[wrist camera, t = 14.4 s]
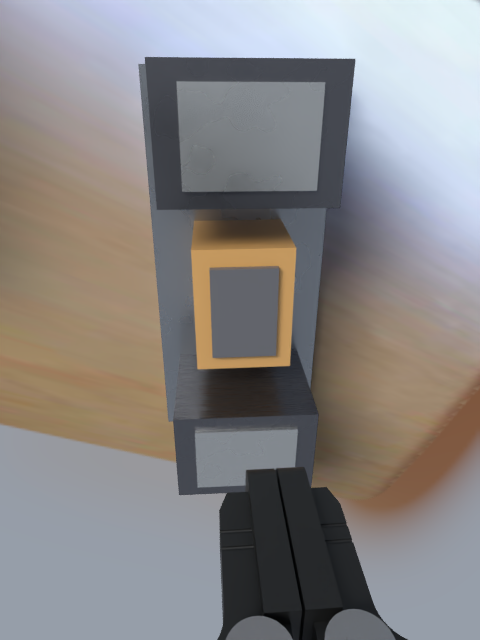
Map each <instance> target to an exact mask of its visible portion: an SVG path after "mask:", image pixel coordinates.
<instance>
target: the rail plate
mask: <svg viewBox="0 0 480 640" xmlns="http://www.w3.org/2000/svg"><path fill="white" fill-rule="evenodd" d="M354 67H355V59H303V58H180V57H145V64H139V76H140V88H141V99H142V111H143V123H144V135H145V147H146V159H147V171H148V182H149V194H150V206H151V218H152V230H153V242H154V254H155V265H156V277H157V289H158V301H159V313H160V325H161V337H162V349H163V360H164V372H165V384H166V396H167V408H168V420H169V421H173V423H174V436H175V449H176V462H177V474H178V486H179V495H193V494H212V493H231V492H245V481H246V470H253V469H273V468H274V469H276V468H290V467H304V468H305V470H306V473H307V476H308V480H309V484H310V487H311V483H312V474H313V464H314V454H315V445H316V435H317V425H318V416H319V414H318V411H317V408H316V405H315V402H314V399H313V396H312V393H311V390H310V386H311V375H312V364H313V353H314V342H315V331H316V319H317V308H318V297H319V286H320V275H321V264H322V253H323V242H324V231H325V219H326V208H340V203H341V193H342V183H343V174H344V164H345V154H346V145H347V135H348V125H349V116H350V106H351V96H352V87H353V77H354ZM268 219H281V220H282V222H283V224H284V226H285V228H286V230H287V231H288V233H289V235H290V237H291V239H292V241H293V243H294V244H295V246H296V264H295V282H294V300H293V319H292V337H291V355H290V366H276V367H249V368H221V369H197V352H196V333H195V315H194V296H193V278H192V259H191V245H192V236H193V226H194V221H217V220H268Z"/></svg>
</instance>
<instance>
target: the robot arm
mask: <svg viewBox="0 0 480 640" xmlns="http://www.w3.org/2000/svg"><path fill="white" fill-rule="evenodd" d="M219 511H220V512H219V513H220V558H221V559H220V560H221V583H222V608H223V627H222V630H221V633H220V636H219V638H218V640H407V639H405V638H404V637H402V636H400V635H399V634H397V633H396V632H394V631H393V630H392V629H391V628H390V627H389V626H387V624H386V623H385V622H384V621H383V620H382V619H381V617H380V615H379V614H378V612H377V610H376V608H375V606H374V604H373V601H372V598H371V595H370V592H369V589H368V586H367V583H366V580H365V577H364V574H363V571H362V568H361V565H360V562H359V559H358V556H357V553H356V550H355V547H354V544H353V543H352V538H351V535H350V532H349V529H348V527H347V525H346V520H345V517H344V514H343V511H342V508H341V505H340V503H339V502H338V500H337V499H336V498H335V497H334V496H333V494H332V493H331V492H330V491H329V490H328V488H327V487H321V488H311V487H310V484H309V480H308V476H307V473H306V470H305V468H304V467H290V468H276V469H274V468H273V469H253V470H246V481H245V492H231V493H227V494H226V496H225V499H224V501H223V503H222V506H221V508H220V510H219Z"/></svg>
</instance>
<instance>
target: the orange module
mask: <svg viewBox="0 0 480 640" xmlns="http://www.w3.org/2000/svg"><path fill="white" fill-rule="evenodd" d="M191 259H192V278H193V296H194V315H195V333H196V352H197V369H221V368H249V367H276V366H290V355H291V337H292V319H293V300H294V282H295V264H296V246H295V244H294V243H293V241H292V239H291V237H290V235H289V233H288V231H287V230H286V228H285V226H284V224H283V222H282V220H281V219H268V220H217V221H194V226H193V236H192V245H191Z"/></svg>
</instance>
